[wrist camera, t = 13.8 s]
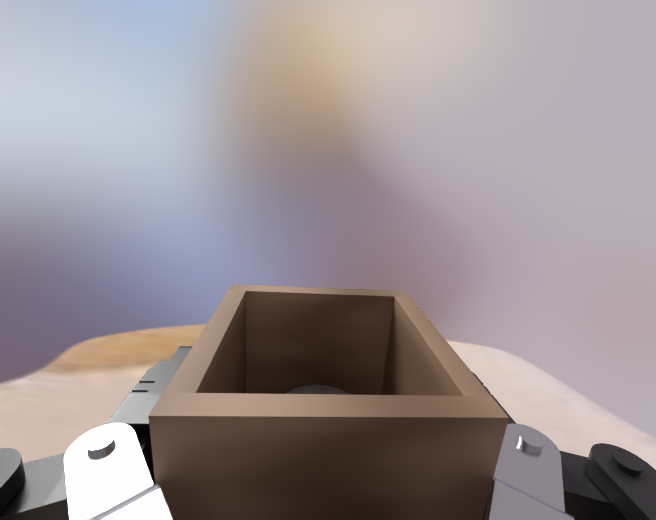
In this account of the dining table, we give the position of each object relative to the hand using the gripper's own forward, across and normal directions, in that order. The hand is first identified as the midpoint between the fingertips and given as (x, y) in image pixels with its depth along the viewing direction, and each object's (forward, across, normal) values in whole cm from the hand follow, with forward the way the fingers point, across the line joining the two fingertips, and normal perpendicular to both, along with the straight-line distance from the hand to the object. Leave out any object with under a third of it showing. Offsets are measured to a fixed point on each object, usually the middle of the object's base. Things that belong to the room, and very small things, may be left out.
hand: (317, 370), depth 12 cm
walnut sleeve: (-2, 0, -7) cm, 8 cm away
